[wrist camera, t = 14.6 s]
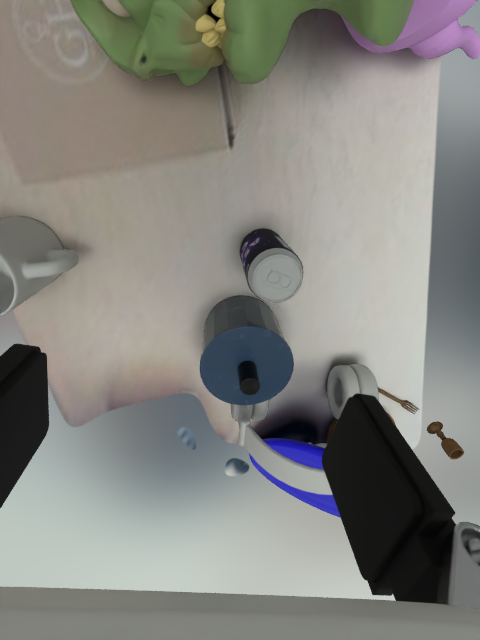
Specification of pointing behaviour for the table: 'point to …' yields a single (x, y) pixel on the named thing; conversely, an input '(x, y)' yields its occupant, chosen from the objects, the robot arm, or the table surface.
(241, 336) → the pot lid
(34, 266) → the mug
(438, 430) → the place setting
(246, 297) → the pot
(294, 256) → the beverage can
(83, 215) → the table surface
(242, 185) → the table surface
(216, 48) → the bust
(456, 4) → the teapot
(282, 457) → the headphones
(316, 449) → the toy spaceship
